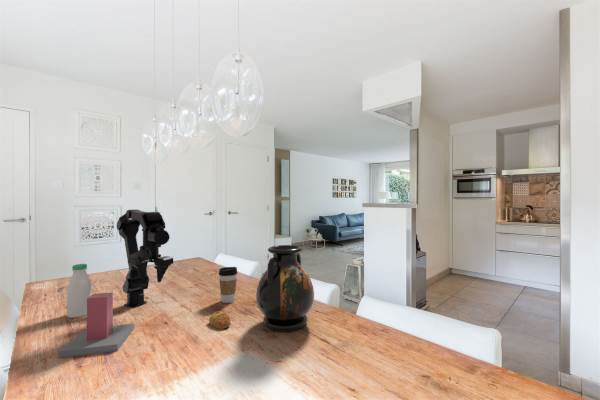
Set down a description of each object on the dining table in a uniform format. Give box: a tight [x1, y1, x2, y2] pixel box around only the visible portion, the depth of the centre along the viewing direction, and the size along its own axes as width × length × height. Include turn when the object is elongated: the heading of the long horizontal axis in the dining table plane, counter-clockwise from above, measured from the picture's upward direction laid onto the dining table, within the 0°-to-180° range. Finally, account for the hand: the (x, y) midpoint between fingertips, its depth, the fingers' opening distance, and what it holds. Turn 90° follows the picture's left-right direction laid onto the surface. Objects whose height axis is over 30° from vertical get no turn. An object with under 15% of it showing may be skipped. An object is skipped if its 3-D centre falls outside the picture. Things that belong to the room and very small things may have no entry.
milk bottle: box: [66, 263, 93, 319], centre depth 111 cm, size 8×8×20 cm
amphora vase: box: [255, 244, 315, 332], centre depth 102 cm, size 22×22×28 cm
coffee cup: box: [218, 266, 238, 304], centre depth 126 cm, size 8×8×15 cm
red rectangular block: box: [86, 292, 114, 340], centre depth 89 cm, size 4×6×13 cm
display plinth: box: [58, 323, 135, 359], centre depth 89 cm, size 15×15×2 cm
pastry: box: [208, 310, 231, 330], centre depth 101 cm, size 9×7×4 cm
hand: (150, 281), depth 112 cm, fingers open, 9 cm apart
